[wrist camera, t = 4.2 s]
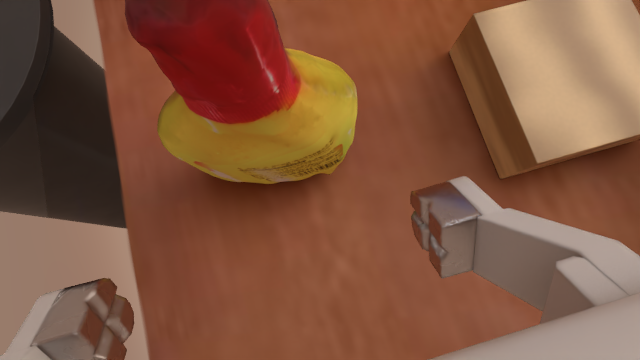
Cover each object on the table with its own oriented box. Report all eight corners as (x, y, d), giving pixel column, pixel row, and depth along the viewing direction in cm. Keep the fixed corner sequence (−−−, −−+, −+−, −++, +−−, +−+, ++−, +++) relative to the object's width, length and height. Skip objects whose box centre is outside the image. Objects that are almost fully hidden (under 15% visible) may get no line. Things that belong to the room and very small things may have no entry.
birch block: (499, 179, 28) (537, 163, 24) (448, 51, 31) (473, 13, 26) (632, 141, 29) (696, 118, 24) (572, 19, 32) (619, -24, 27)
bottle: (206, 202, 28) (-55, 80, 8) (200, 128, 29) (-38, -130, 10) (354, 181, 28) (435, 18, 9) (341, 109, 30) (388, -174, 10)
